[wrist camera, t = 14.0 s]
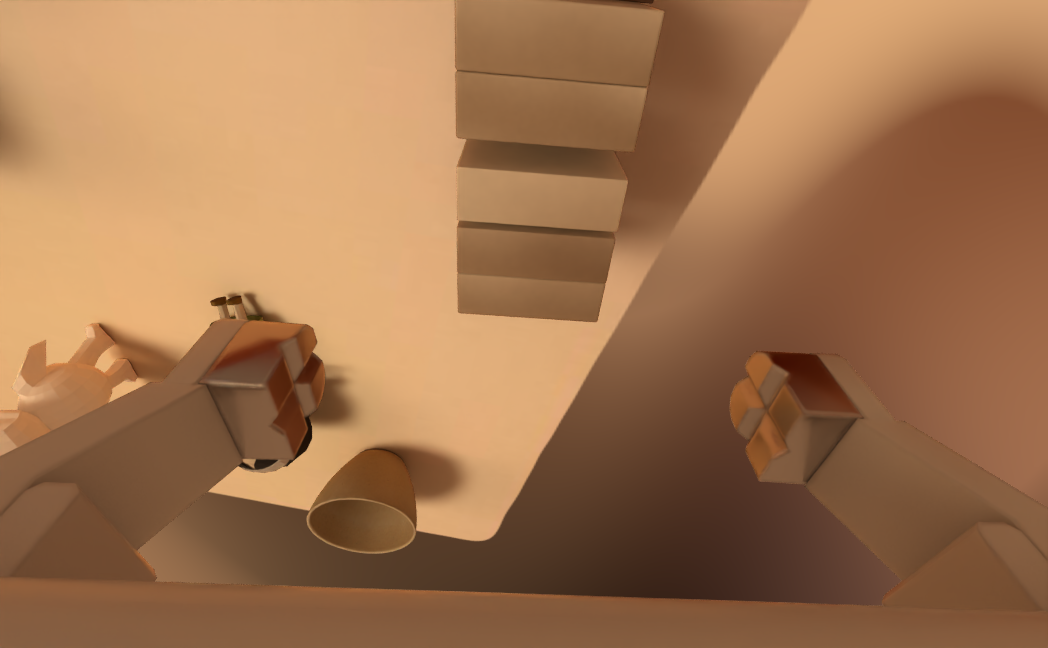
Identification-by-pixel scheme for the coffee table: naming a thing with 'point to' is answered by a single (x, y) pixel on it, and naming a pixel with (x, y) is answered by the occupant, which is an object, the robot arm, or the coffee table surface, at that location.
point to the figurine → (60, 389)
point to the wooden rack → (547, 136)
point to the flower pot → (367, 505)
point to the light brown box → (540, 185)
